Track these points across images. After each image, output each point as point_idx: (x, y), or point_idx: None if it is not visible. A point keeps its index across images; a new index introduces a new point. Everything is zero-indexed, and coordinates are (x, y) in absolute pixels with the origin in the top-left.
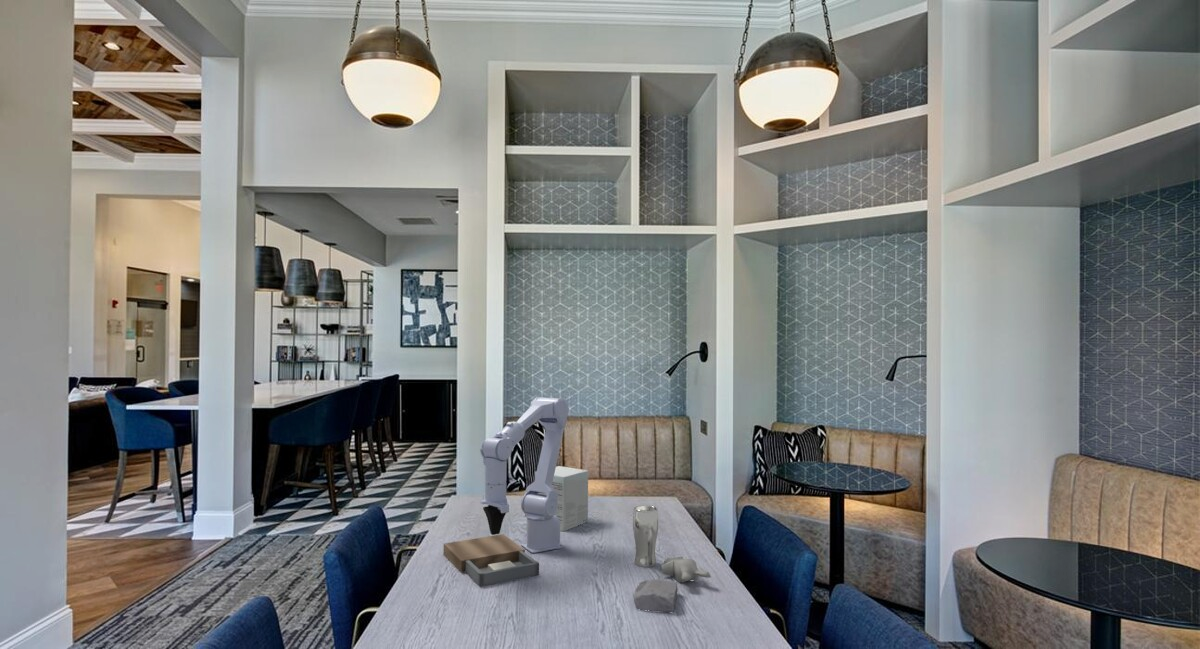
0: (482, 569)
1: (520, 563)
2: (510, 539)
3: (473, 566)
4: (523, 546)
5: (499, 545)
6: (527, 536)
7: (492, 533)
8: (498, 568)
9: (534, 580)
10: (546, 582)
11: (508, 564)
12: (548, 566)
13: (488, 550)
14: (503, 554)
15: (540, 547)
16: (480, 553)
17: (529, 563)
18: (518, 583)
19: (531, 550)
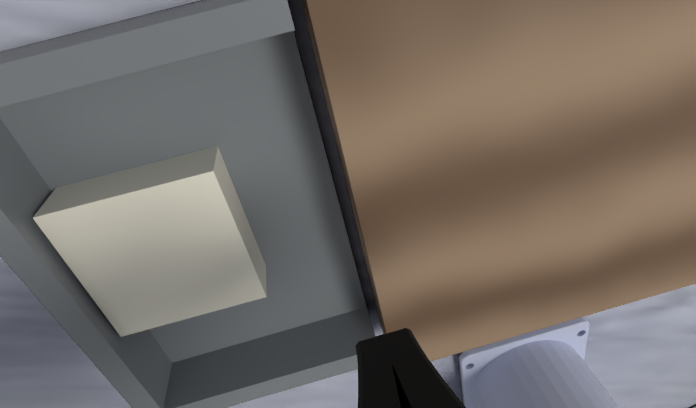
0: (281, 115)
1: (327, 313)
2: (597, 311)
3: (105, 55)
4: (557, 326)
5: (533, 258)
6: (560, 389)
7: (357, 356)
8: (112, 235)
9: (84, 357)
10: (54, 397)
11: (191, 291)
12: (274, 401)
13: (472, 193)
14: (372, 273)
15: (477, 393)
16: (431, 136)
17: (225, 373)
18: (33, 294)
19: (479, 356)
